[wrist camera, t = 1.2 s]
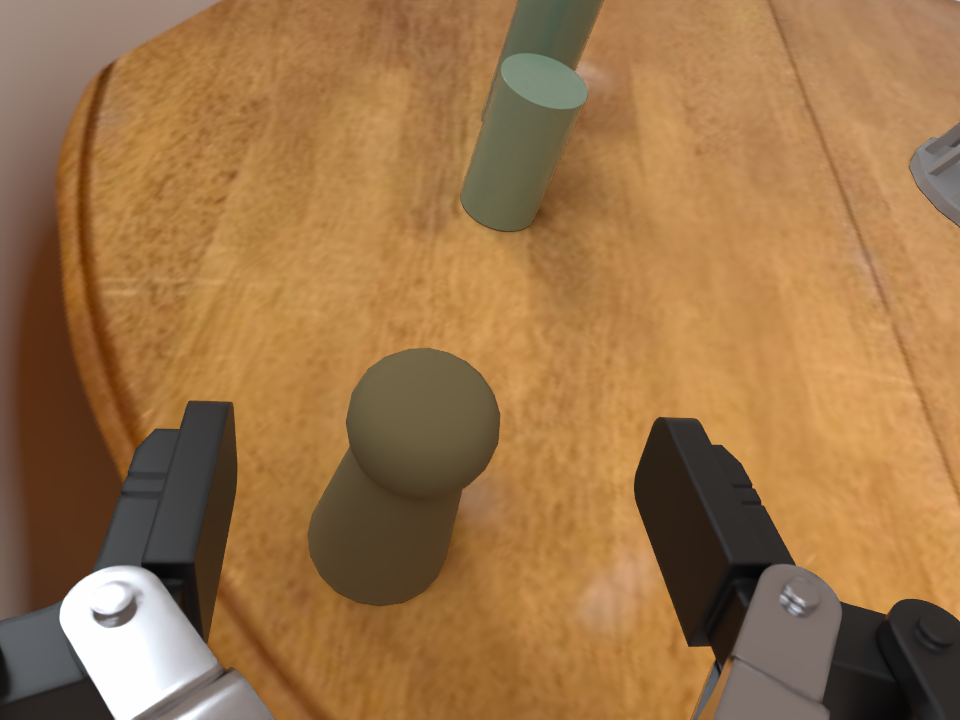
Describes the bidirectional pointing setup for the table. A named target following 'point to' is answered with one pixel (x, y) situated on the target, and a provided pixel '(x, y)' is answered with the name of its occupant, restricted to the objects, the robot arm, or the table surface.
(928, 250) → the table surface
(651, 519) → the robot arm
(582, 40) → the back jar
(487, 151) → the front jar
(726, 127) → the table surface
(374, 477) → the olive chess pawn
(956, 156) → the grey lattice tower
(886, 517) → the table surface
